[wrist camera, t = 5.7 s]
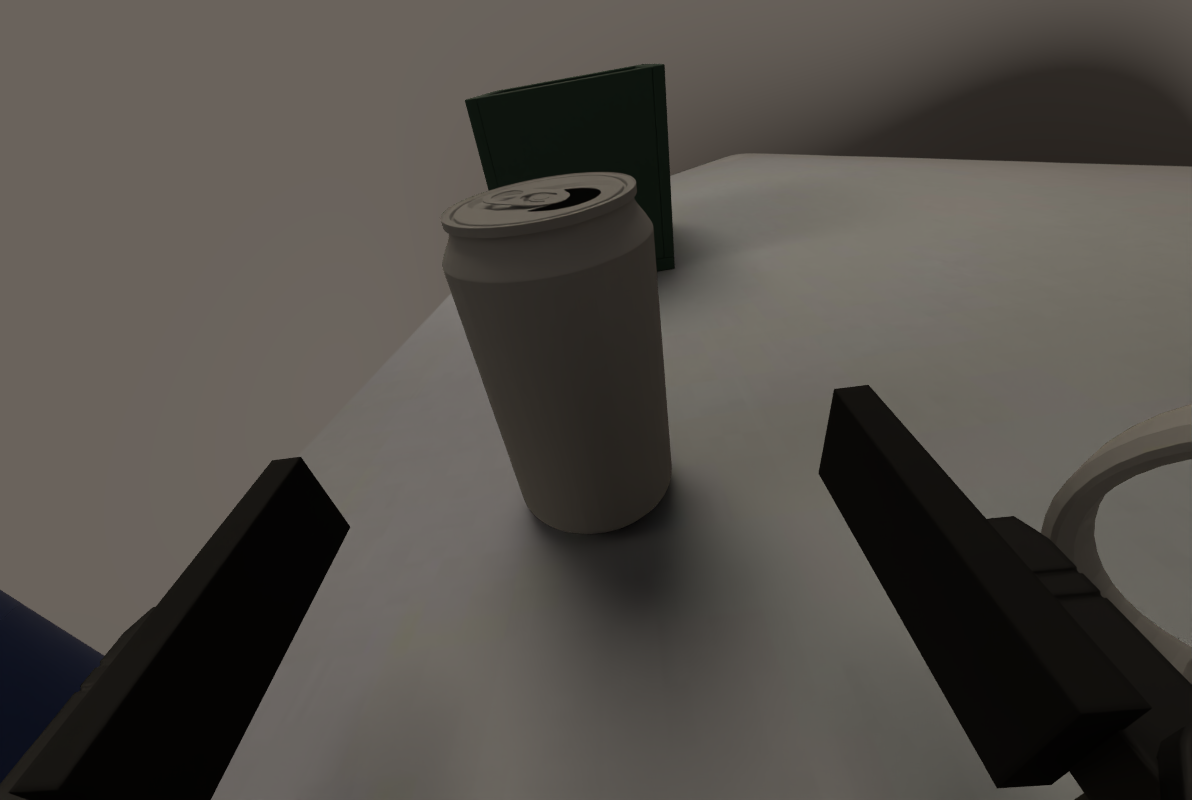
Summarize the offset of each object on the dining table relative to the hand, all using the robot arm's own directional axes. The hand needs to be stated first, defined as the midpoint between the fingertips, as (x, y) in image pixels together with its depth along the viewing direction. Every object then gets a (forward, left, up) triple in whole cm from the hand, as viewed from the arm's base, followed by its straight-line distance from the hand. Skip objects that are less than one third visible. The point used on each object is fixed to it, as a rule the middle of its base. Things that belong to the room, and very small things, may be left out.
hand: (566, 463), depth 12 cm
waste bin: (-5, +36, -7) cm, 36 cm away
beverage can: (-1, +6, -7) cm, 9 cm away
